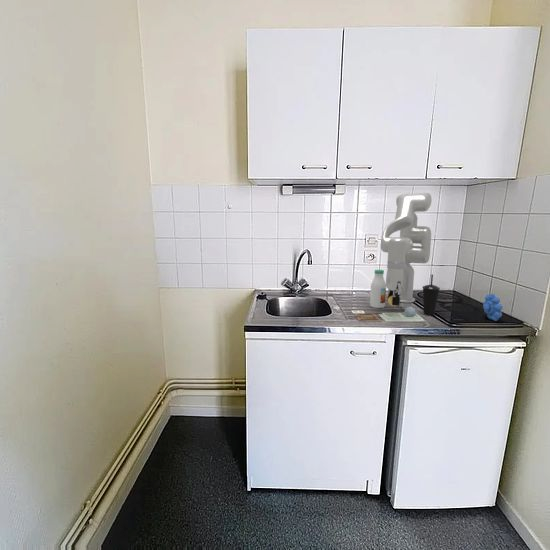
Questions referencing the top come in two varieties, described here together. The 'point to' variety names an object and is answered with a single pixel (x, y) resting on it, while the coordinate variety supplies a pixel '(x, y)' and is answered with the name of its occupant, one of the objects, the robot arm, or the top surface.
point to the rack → (400, 317)
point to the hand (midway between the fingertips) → (393, 303)
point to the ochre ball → (390, 300)
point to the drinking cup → (430, 298)
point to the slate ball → (410, 312)
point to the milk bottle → (378, 290)
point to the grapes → (492, 307)
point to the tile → (358, 312)
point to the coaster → (367, 317)
